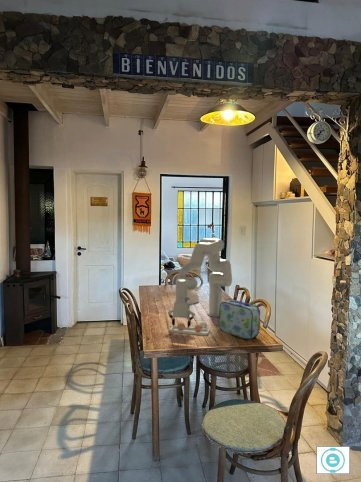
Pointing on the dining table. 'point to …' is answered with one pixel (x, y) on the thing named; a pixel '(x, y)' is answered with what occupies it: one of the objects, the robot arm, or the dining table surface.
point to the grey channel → (189, 330)
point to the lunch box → (239, 319)
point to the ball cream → (203, 324)
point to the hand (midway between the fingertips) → (181, 326)
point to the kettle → (193, 296)
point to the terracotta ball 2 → (198, 328)
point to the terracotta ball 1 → (181, 326)
